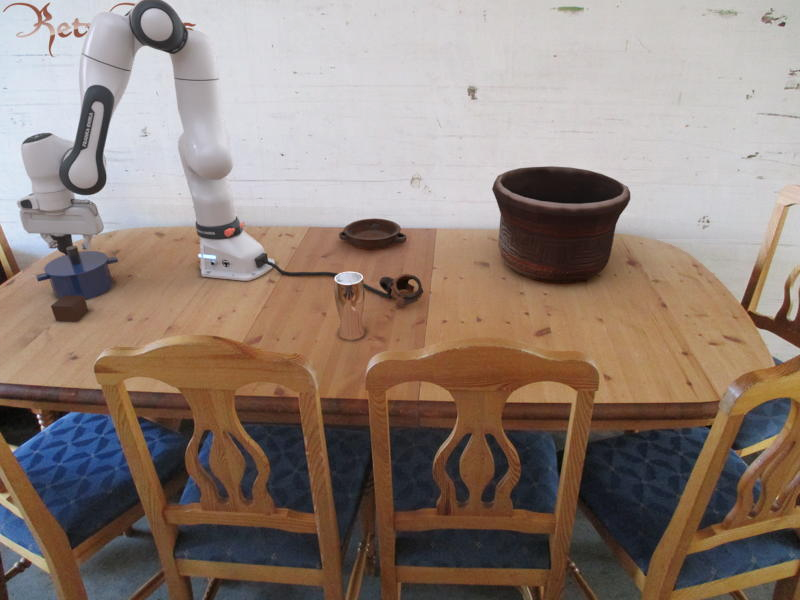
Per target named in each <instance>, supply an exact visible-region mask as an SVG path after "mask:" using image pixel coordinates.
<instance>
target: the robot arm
mask: <svg viewBox="0 0 800 600" xmlns="http://www.w3.org/2000/svg"><path fill="white" fill-rule="evenodd" d="M143 47H149V48H152V49H154V50H157V51H160V52H165V53H166V54H168V55H169V57H170V60H171V64H172V72H173V80H174V89H175V96H176V97H175V98H176V105H177V111H178V115H179V117H180V121H181V125H182V131H183V132H182V133H181V134H180V136H179V137H178V140H177V149H178V154H179V158H180V161H181V166H182V169H183V173H184V175H185V179H186V183H187V186H188V189H189V193H190V196H191V201H192V205H193V209H194V216H195V230H196V235H197V236H198V237H199V254H198V258H200V260H199V269H200V275H201V277H203V278H211V279H221V280H223V279H224V280H230V281H240V282H249V281H252V280H256V279H258V278H260V277H262V276H263V275H265V274H267V273H268V272H269V271H271V270H272V269H273V268H274V269H275V270H276V271H277V272H278V273H280V274H282V275H285V276H289V277H291V276H292V277H293V276H295V277H296V276H297V277H298V276H331V277H335V276H336V275H338V274H340V273H338V272H332V271H296V272H295V271H292V272H291V271H285V270H284V269H283V270H282V269H281V268H280V267H279V266H278V265H277V264H276V260H275V259H273V258H271V257H269V256H268V253H266V252H265V248H264V247H263V245H262V244H261V243H260V242H258V240H256V239H255V238H254V237H252V236H251V235H250V234H249V233H247V232H246V231H245V230H244V226H245V221H242V222H241V221H240V220H239V218H238V216H237V215H236V214H237V213H236V207H235V202H234V196H233V191H232V187H231V186H230V183H229V180H228V177H227V176H229V175H230V173H231V172H232V170H233V168H234V157H233V153H232V150H231V146H230V141H229V136H228V131H227V126H226V121H225V118H224V113H223V106H222V96H221V95H222V94H221V84H220V73H219V67H218V62H217V56H216V52H215V48H214V45H213V41H212V39H211V38H210V37H209V36H208V35H207V34H206V33H204V32H202V31H200V30H199V31H198V30H196V29H195V30H194V29H193V30H192V29H187V27H186V25H185V24H184V23H183V21H182V20H181V17H180V16H179V14H178V13H177V12H176V10H175V9H174V8H173V7H172V6H171V5H170V4H169V3H168V2H167V1H165V0H138V1H137V2H136V3H135V4H134V5H133V7H131V9H130V10H129V11H127V13H125V14H124V15H121V14H118V13H114V12H109V11H107V12H106V11H104V12H99V13H97V14H95V15H94V16H93V18H92V20H91V22H90V24H89V27H88V29H87V32H86V35H85V38H84V41H83V45H82V48H81V53H80V59H79V69H78V82H79V83H78V84H79V94H80V96H79V97H80V114H79V120H78V125H77V131H76V135H75V140H74V141H73V140H68V139H65V138H62V137H59V136H58V135H56V134H54V133H52V132H41V133H37V134H34V135H30V136H29V137H27V138H26V139H24V141H22V143H21V145H20V152H21V153H20V154H21V158H22V162H23V165H24V169H25V171H26V176H27V177H28V178H29V179H30V182H31V191H32V193H30V194H28V195H26V196H24V197H22V198H20V199H18V200H16V204H17V207H18V208H19V209H20V210H19V217H20V221H21V224H22V228H23V229H24V231H26V232H27V233H28V234H39V235H40V238H41V239H42V240H43V241H44V242H45V243H46V244H47V246H48V249H53V250H54V249H57V247H58V244H57V241H56V240H53V239H52V238H51V236H50V234H71V235H72V236H73V235H75V236H76V235H79V236H82V238H83V239H84V241H83V242H82V243H81V244H80V245H81V247H82V250H84V251H90V250H91V249H92V243H91V241H92V238H93V236H97V235H99V234H100V233H102V232H103V231H104V229H105V225H104V223H103V219H102V217H101V215H100V213H99V210H98V206H97V205H96V203H94V202H93V201H91V200H90V199H79V198H76V196H75V194H76V195H79V196H92V195H95V194H98V193H100V192H101V191H102V190H103V189H104V187H105V186H106V184H107V179H108V177H107V160H106V159H107V158H106V156H105V154H104V151H105V147H106V142H107V138H108V133H109V128H110V124H111V120H112V119H113V115H114V114H115V111H116V109H117V107H118V106H119V104H120V102H121V100H122V98H123V96H124V94H125V91H126V89H127V87H128V84H129V81H130V79H131V74H132V70H133V66H134V61H135V58H136V56H137V54H138V51H139V50H140V49H141V48H143ZM364 289H366V290H368V291H370V292H373V293H375V294H376V295H380V296H382V297H385V298H387V299H392V295H391V294H390V295H388V293H387V292H384V291H381V290H379V289H377V288H374V287H372V286H370V285H368V284H367V283H364Z"/></svg>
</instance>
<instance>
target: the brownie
mask: <svg viewBox="0 0 800 600" xmlns="http://www.w3.org/2000/svg"><path fill="white" fill-rule="evenodd" d="M50 309H51V310H52V313H53V316H54V319H55V322H65V323H66V322H67V323H70V322H71V323H77V322H79V321H80V320H81V319H82V318H83V317H84V316H85V315H86V314H87V313H88V312H89V307H88V303H87V301H86V300H85V298H84V296H69V295H63V296H62V297H61V298H60V299H57V300H56V301H55V302H54V303H52V304H51V305H50Z"/></svg>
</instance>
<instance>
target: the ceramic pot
mask: <svg viewBox="0 0 800 600" xmlns="http://www.w3.org/2000/svg"><path fill="white" fill-rule="evenodd" d="M491 190H492V193H493V195H494V197H495V200H496V203H497V207H498V209H499V213H500V217H499V218H500V219H499V228H498V229H499V230H498V241H497V242H498V243H497V245H498V249H499V250H498V251H499V254H500V256H501V258H502V260H503V261H504V262H505V264H506V265H507V266H508V267H510V268H511V269H512V270H513V271H514V272H516V273H518V274H519V275H522V276H524V277H526V278H529V279H533V280H536V281H541V282H547V283H561V284H562V283H575V282H582V281H586V280H589V279H591V278H592V277H594V276H596V275H597V274H599V273H601V272H602V271H603V270H605V268H606V266H607V265H608V263H609V261H610V258H611V254H612V250H613V243H614V239H615V238H614V237H615V232H616V227H617V223H618V221H619V219H620V216H621V215H622V213H623V212H624V211H625V209H626V208H627V207H628V205H629V203H630V201H631V191H630V189H629V187H628V186H627V185H625V184H624V183H622V182H621V181H619V180H617V179H615V178H613V177H610V176H607V175H605V174H603V173H600V172H596V171H592V170H589V169H583V168H576V167H571V166H570V167H569V166H554V165H553V166H552V165H551V166H548V165H547V166H529V167H519V168H515V169H510V170H507V171H505V172H503V173H501V174H499V175H497V177H496V178H495V180H494V182H493V184H492V187H491Z"/></svg>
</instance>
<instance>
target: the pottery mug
mask: <svg viewBox="0 0 800 600" xmlns="http://www.w3.org/2000/svg"><path fill="white" fill-rule="evenodd" d="M411 280H413V281H415V282H416V284H417V287H418V288H417V290H416V291H415V292H414V289H415V286H414V285H413V284H410V283H409V282H410V281H411ZM378 283H379V286H380V287H381V289H383V290H384V291H385V293H387V294H388V295H391V294H393V296H394V297H395V298H396V299H397V300H396V303H395V305H396V307H397V308H400V309H401V308H403V307H404V306H405V307H406V306H409V305H412V304H414V303H416V302H418V301H419V299H421V297H422V296H423V293H424V289H423V286H422V282H421V280H420V278H418V277H417V276H416V275H414V274H409V273H403V274H402V273H401V274H400V275H398V276H396V277H395V278H393V277H390V276H382V277H381V278H380V280H379V282H378ZM401 291H409V292H410V293H411V294H406V293H404V294H403V296H402V295H401Z"/></svg>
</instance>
